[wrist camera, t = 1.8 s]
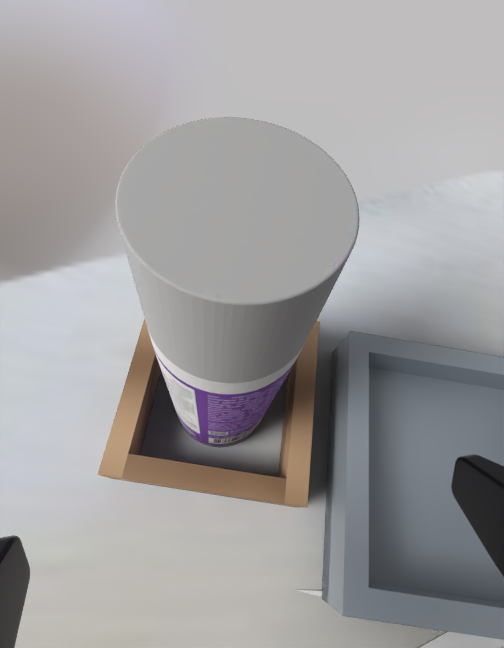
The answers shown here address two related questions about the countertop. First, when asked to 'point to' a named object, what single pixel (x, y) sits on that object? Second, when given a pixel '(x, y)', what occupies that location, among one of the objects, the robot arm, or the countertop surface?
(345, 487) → the tray
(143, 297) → the container
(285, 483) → the holder
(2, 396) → the countertop surface
